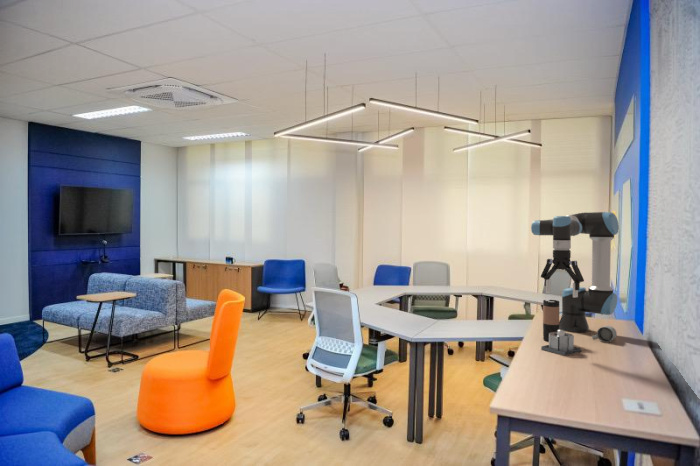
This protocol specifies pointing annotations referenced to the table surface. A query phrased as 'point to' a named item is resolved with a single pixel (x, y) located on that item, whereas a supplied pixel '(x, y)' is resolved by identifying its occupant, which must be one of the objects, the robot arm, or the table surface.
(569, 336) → the ring
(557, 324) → the travel mug
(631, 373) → the table surface
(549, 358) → the table surface
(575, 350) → the shaft block
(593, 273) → the robot arm
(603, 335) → the ceramic mug
